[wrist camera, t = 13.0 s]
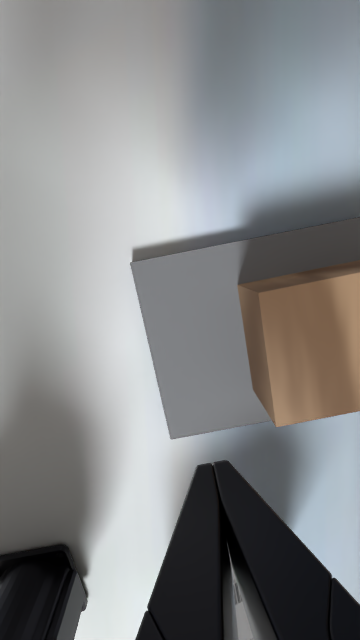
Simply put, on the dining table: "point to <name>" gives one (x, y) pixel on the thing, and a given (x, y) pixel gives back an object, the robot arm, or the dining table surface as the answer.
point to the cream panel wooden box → (304, 342)
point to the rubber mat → (221, 319)
